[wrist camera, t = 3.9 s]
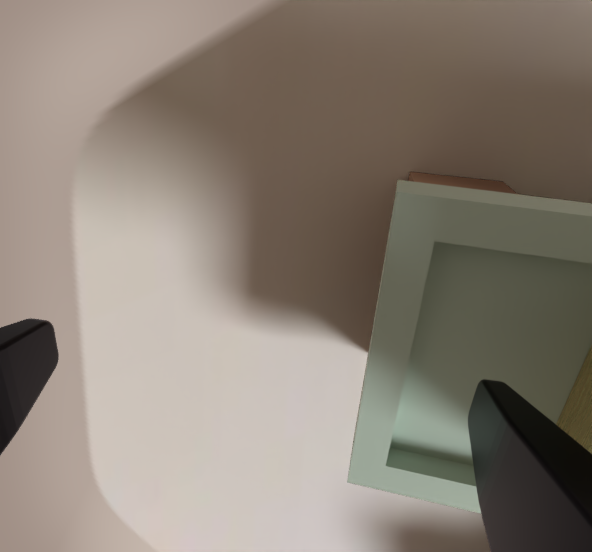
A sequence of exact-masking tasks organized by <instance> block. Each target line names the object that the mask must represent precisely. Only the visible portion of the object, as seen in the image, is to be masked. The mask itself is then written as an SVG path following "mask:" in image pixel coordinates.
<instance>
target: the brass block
mask: <svg viewBox="0 0 592 552" xmlns="http://www.w3.org/2000/svg"><path fill="white" fill-rule="evenodd" d="M556 425H557V426H558V427H560V428H561V429H562V430H563V431H565V432H566V433H567V434H568V435H569V436H571V437H572V438H573V439H574V440H576V441H577V442H578V443H579V444H580V445H582V446H583V447H584V448H585V449H587V450H588V451H589V452H590V453H591V454H592V345H591V347H590V350H589V352H588V354H587V356H586V359H585V361H584V363H583V365H582V367H581V370H580V372H579V374H578V376H577V379H576V381H575V383H574V385H573V388H572V390H571V392H570V394H569V397H568V399H567V401H566V403H565V406H564V408H563V410H562V412H561V414H560V417H559V419H558V421H557V423H556Z"/></svg>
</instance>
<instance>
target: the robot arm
mask: <svg viewBox="0 0 592 552" xmlns="http://www.w3.org/2000/svg"><path fill="white" fill-rule="evenodd" d="M57 363H58V349H57V343H56V338H55V332H54V328H53V325H52V324H51V323H50V322H49V321H46V320H39V319H26V320H23V321H20V322H17V323H14V324H11V325H7V326H4V327H1V328H0V455H1V454H2V452H3V451H4V449H5V448H6V447H7V445H8V444H9V443H10V441H11V440H12V438H13V437H14V436H15V434H16V432H17V431H18V430H19V428H20V426H21V425H22V423H23V422H24V420H25V419H26V417H27V415H28V413H29V412H30V410H31V408H32V407H33V405H34V403H35V402H36V400H37V398H38V397H39V395H40V393H41V391H42V390H43V388H44V386H45V385H46V383H47V381H48V379H49V378H50V376H51V375H52V373H53V371H54V369H55V368H56V366H57ZM468 430H469V437H470V444H471V452H472V459H473V466H474V474H475V481H476V489H477V495H478V501H479V505H480V510H481V514H482V518H483V522H484V526H485V530H486V534H487V538H488V542H489V546H490V550H491V552H592V454H591V453H590V452H589V451H588V450H587V449H585V448H584V447H583V446H582V445H580V444H579V443H578V442H577V441H576V440H574V439H573V438H572V437H571V436H569V435H568V434H567V433H566V432H565V431H563V430H562V429H561V428H560V427H558V426H557V425H556V424H555V423H554V422H552V421H551V420H550V419H549V418H547V417H546V416H545V415H544V414H543V413H541V412H540V411H539V410H538V409H536V408H535V407H534V406H533V405H532V404H530V403H529V402H528V401H527V400H525V399H524V398H523V397H522V396H521V395H519V394H518V393H517V392H516V391H514V390H513V389H512V388H511V387H510V386H508V385H507V384H506V383H504V382H502V381H495V380H487V379H483V380H481V381H480V382H479V383H478V385H477V388H476V391H475V394H474V397H473V400H472V403H471V407H470V410H469V413H468Z"/></svg>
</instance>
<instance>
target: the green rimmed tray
mask: <svg viewBox="0 0 592 552" xmlns="http://www.w3.org/2000/svg"><path fill="white" fill-rule="evenodd" d="M591 345H592V203H585V202H577V201H569V200H561V199H552V198H544V197H536V196H528V195H520V194H511V193H503V192H495V191H487V190H478V189H470V188H462V187H454V186H446V185H437V184H429V183H421V182H413V181H404V180H398V181H397V187H396V193H395V199H394V205H393V210H392V216H391V222H390V228H389V234H388V240H387V246H386V252H385V258H384V263H383V269H382V275H381V281H380V287H379V293H378V299H377V305H376V311H375V316H374V322H373V328H372V334H371V340H370V346H369V352H368V358H367V364H366V369H365V375H364V381H363V387H362V393H361V399H360V405H359V411H358V417H357V422H356V428H355V434H354V441H353V447H352V454H351V461H350V467H349V474H348V481H347V482H348V483H353V484H357V485H361V486H365V487H370V488H374V489H378V490H382V491H387V492H391V493H395V494H399V495H404V496H408V497H412V498H416V499H421V500H425V501H429V502H433V503H438V504H442V505H446V506H450V507H455V508H459V509H463V510H467V511H472V512H476V513H480V514H481V510H480V505H479V501H478V495H477V489H476V481H475V474H474V466H473V459H472V452H471V444H470V437H469V430H468V413H469V410H470V407H471V403H472V400H473V397H474V394H475V391H476V388H477V385H478V383H479V382H480V381H481V380H483V379H487V380H495V381H502V382H504V383H506V384H507V385H508V386H510V387H511V388H512V389H513V390H514V391H516V392H517V393H518V394H519V395H521V396H522V397H523V398H524V399H525V400H527V401H528V402H529V403H530V404H532V405H533V406H534V407H535V408H536V409H538V410H539V411H540V412H541V413H543V414H544V415H545V416H546V417H547V418H549V419H550V420H551V421H552V422H554V423H555V424H556V423H557V421H558V419H559V417H560V414H561V412H562V410H563V408H564V406H565V403H566V401H567V399H568V397H569V394H570V392H571V390H572V388H573V385H574V383H575V381H576V379H577V376H578V374H579V372H580V370H581V367H582V365H583V363H584V361H585V359H586V356H587V354H588V352H589V350H590V347H591Z"/></svg>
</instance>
